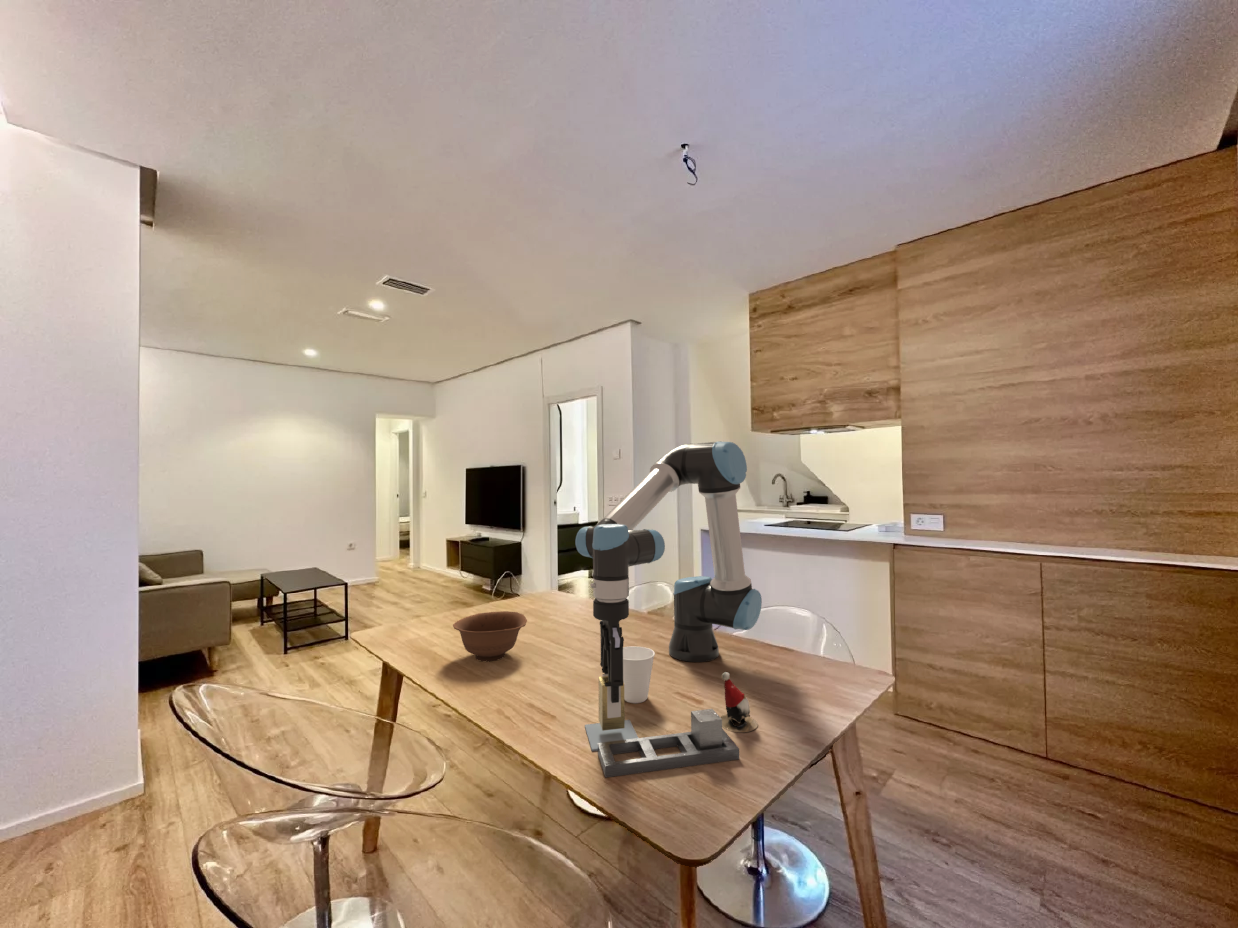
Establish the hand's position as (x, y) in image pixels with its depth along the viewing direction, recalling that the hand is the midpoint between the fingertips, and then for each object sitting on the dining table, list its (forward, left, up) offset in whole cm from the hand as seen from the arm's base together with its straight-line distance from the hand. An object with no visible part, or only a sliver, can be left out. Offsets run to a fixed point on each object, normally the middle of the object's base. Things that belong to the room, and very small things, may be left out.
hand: (611, 710), depth 102 cm
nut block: (0, 0, -3) cm, 3 cm away
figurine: (-28, +1, -6) cm, 29 cm away
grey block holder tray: (-9, +10, -5) cm, 14 cm away
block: (-17, +10, -5) cm, 20 cm away
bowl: (+27, -54, -5) cm, 61 cm away
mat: (0, 0, -5) cm, 5 cm away
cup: (-9, -16, -5) cm, 19 cm away
